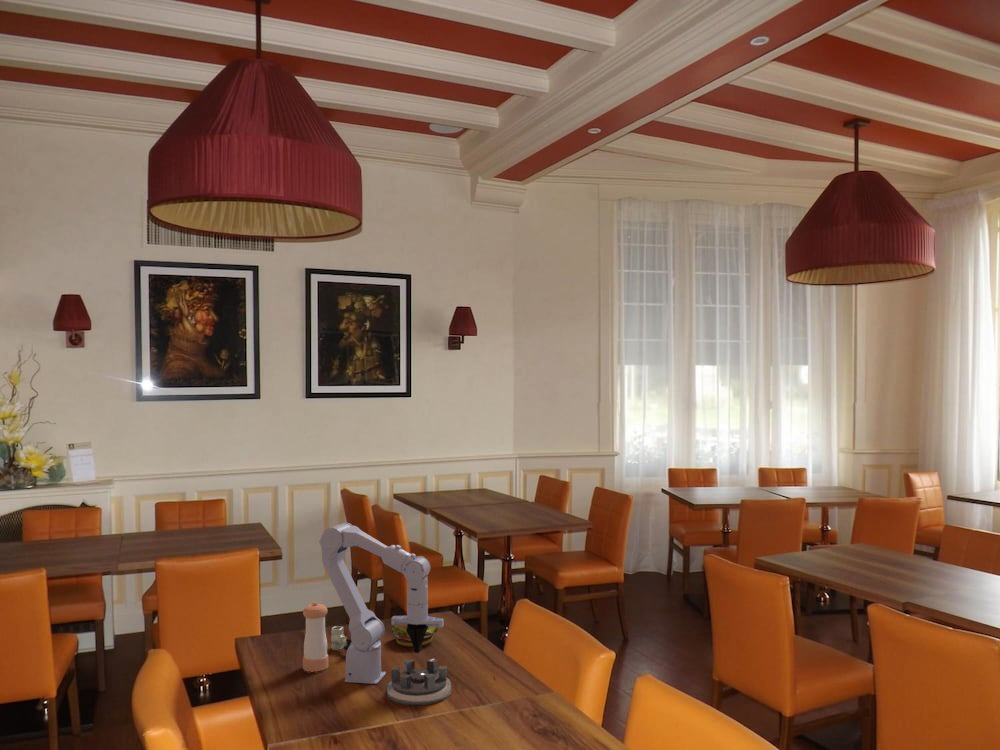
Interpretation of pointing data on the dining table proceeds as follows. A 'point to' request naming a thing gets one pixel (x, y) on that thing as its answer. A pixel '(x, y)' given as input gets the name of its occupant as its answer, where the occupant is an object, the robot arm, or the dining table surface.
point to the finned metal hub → (419, 678)
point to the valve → (339, 638)
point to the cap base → (418, 696)
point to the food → (405, 640)
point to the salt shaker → (315, 638)
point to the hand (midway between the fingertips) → (417, 651)
